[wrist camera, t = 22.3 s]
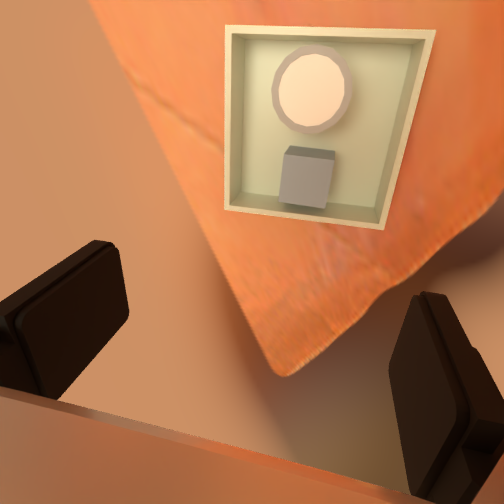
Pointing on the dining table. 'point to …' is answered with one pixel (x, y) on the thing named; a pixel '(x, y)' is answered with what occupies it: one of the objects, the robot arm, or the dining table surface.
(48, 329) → the robot arm
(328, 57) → the shot glass
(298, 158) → the cube
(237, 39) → the tote
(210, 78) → the dining table surface
